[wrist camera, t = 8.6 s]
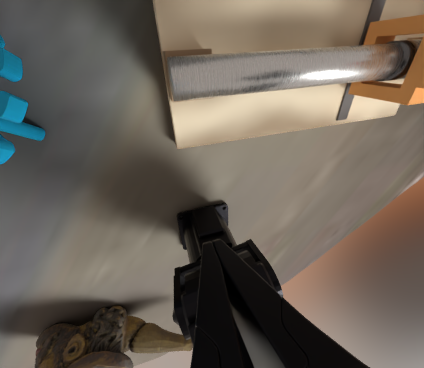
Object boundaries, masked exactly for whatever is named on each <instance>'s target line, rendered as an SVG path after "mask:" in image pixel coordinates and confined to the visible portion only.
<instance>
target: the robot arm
mask: <svg viewBox="0 0 424 368" xmlns="http://www.w3.org/2000/svg"><path fill="white" fill-rule="evenodd" d="M223 207H224V208H223ZM181 216H183V217H181ZM177 220H178V225H179V230H180V235H181V240H182V245H183V249H185V250H187V252H188V257H189V261H190V264H188V265H185V266H182V267H177V268H175V276H174V310H173V320H174V322H175V323H177V324H178V325H179V326H180V328H181V331H182V334H183V336H184V338H185V339H186V340H188V339H191V341H192V344H193V354H192V361H191V367H190V368H370V367H368V366H367V365H365V364H364V363H362V362H361V361H360V360H358V359H357V358H356V357H354V356H353V355H352V354H351V353H349V352H348V351H347V350H345V349H344V348H343V347H342V346H340V345H339V344H338V343H337V342H335V341H334V340H333V339H331V338H330V337H329V336H328V335H326V334H325V333H324V332H322V331H321V330H320V329H319V328H317V327H316V326H315V325H314V324H312V323H311V322H310V321H309V320H308V319H306V318H305V317H304V316H303V315H302V314H301V313H299V312H298V311H297V310H296V309H295V308H294V307H293V306H292V305H290V304H289V303H288V302H287V301H286V300H285V299H284V298H283V293H282V289H281V286H280V283H279V281H278V279H277V276H276V274H275V272H274V270H273V269H272V267H271V265H270V264H269V262H268V261H267V260H266V258H265V257H264V256H263V254H262V253H261V252H260V250H259V249H258V248H257V247H256V245H255V244H254V243H253V241H252V240H251V239H250V240H247V241H246V242H244V243H242V244H239V245H237V244H236V242H235V240H234V238H233V236H232V234H231V232H230V230H229V228H228V206H227V204H226V203H222V204H217V205H213V206H208V207H204V208H199V209H195V210H190V211H186V212H181V213H179V214H178V215H177Z"/></svg>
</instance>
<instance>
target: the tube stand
mask: <svg viewBox="0 0 424 368" xmlns="http://www.w3.org/2000/svg"><path fill="white" fill-rule="evenodd" d="M153 6H154V12H155V19H156V25H157V31H158V37H159V44H160V50H161V56H162V62H163V69H164V75H165V81H166V87H167V94H168V100H169V106H170V112H171V119H172V125H173V131H174V137H175V144H176V146H177V149H183V148H189V147H195V146H202V145H208V144H215V143H221V142H227V141H234V140H240V139H247V138H253V137H259V136H266V135H272V134H279V133H285V132H291V131H298V130H304V129H310V128H317V127H323V126H330V125H336V124H342V123H349V122H355V121H362V120H368V119H374V118H381V117H387V116H393V115H395V114H396V112H397V110H398V107H399V105H400V104H399V103H394V102H389V101H383V100H378V99H373V98H368V97H362V96H357V95H352V94H348V92H349V89H350V86H351V83H352V82H362V81H371V80H375V81H378V82H386V83H395V84H403V82H404V79H405V77H406V75H407V73H408V70H409V68H410V66H411V64H412V61H413V59H414V57H415V55H416V52H417V50H418V48H419V46H420V43H421V41H422V39H423V37H424V33H423V34H410V35H397V36H396V37H395V39H394V41H390V42H388V43H386V44H373V45H363V44H364V41H365V38H366V35H367V32H368V28H369V25H370V22H376V21H382V20H389V19H396V18H403V17H410V16H417V15H424V0H153Z"/></svg>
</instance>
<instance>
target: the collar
mask: <svg viewBox="0 0 424 368" xmlns="http://www.w3.org/2000/svg"><path fill="white" fill-rule="evenodd" d="M423 33H424V15H417V16H410V17H403V18H396V19H389V20H382V21H376V22H370V25H369V28H368V32H367V35H366V38H365V41H364V44H363V45H373V44H386V43H388V42H390V41H394V39H395V37H396V36H397V35H410V34H423ZM348 94H352V95H357V96H362V97H368V98H373V99H378V100H383V101H389V102H394V103H399V104H404V105H412V104H419V103H424V37H423V39H422V41H421V43H420V46H419V48H418V50H417V52H416V55H415V57H414V59H413V61H412V64H411V66H410V68H409V70H408V73H407V75H406V77H405V79H404V82H403V84H395V83H386V82H378V81H375V80H371V81H362V82H352V83H351V86H350V89H349V92H348Z"/></svg>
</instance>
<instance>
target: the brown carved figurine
mask: <svg viewBox="0 0 424 368" xmlns="http://www.w3.org/2000/svg"><path fill="white" fill-rule="evenodd" d="M36 347H37V350H36V364H35V368H133V363H132V361H131V359H130V358H129V357H128V356H127V355H125V354H124V352H126V351H128V350H130V351H132V352H134V353H161V352H171V351H191V350H192V348H193V344H192V341H191V339H188V340H186V339H185V338H184V336H183V335H180V334H176V333H172V332H169V331H166V330H164V329H162V328H160V327H159V326H158V325H156V324H153V323H146V322H145V321H144V320H142V319H140V318H137V317H134V316H127V313H126V309H124V308H122V307H121V306H113V307H111V308H110V309H107V308H102V309H100V310H98V311H97V313H96V314H95V316H94V319H93V320H91V321H89V322H87V323H86V324H84V325H82V326H78V327H77V326H74V325H72V324H66V323H61V324H55V325H54V326H52V327H50V328H48V329H46V330H45V331H44V332H43V333H42V334H41V335H40V336H39V338H38V339H37V342H36Z"/></svg>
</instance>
